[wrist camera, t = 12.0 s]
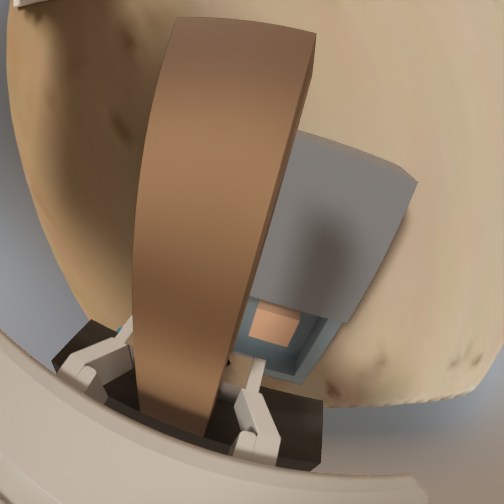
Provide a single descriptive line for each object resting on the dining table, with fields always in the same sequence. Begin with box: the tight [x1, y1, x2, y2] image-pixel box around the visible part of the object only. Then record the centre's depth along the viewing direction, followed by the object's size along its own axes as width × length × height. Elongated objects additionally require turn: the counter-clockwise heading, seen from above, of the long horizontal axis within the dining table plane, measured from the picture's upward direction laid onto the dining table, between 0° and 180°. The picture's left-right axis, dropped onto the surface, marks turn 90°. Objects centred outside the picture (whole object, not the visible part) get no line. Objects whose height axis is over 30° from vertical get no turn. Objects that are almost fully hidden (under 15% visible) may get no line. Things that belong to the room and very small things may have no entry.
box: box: [233, 296, 342, 384], centre depth 31 cm, size 20×13×4 cm, turn 78°
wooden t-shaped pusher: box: [52, 17, 323, 471], centre depth 9 cm, size 16×14×4 cm
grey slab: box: [150, 112, 418, 324], centre depth 23 cm, size 20×14×5 cm
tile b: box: [248, 299, 301, 347], centre depth 29 cm, size 4×4×2 cm
